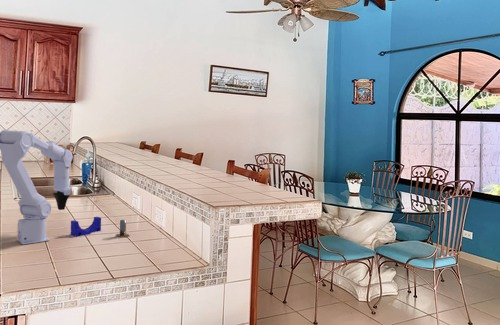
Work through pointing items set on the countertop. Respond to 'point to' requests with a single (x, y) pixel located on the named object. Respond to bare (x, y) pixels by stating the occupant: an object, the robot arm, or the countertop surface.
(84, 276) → the countertop surface
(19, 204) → the robot arm
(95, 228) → the cable clip
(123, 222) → the post
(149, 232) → the countertop surface
